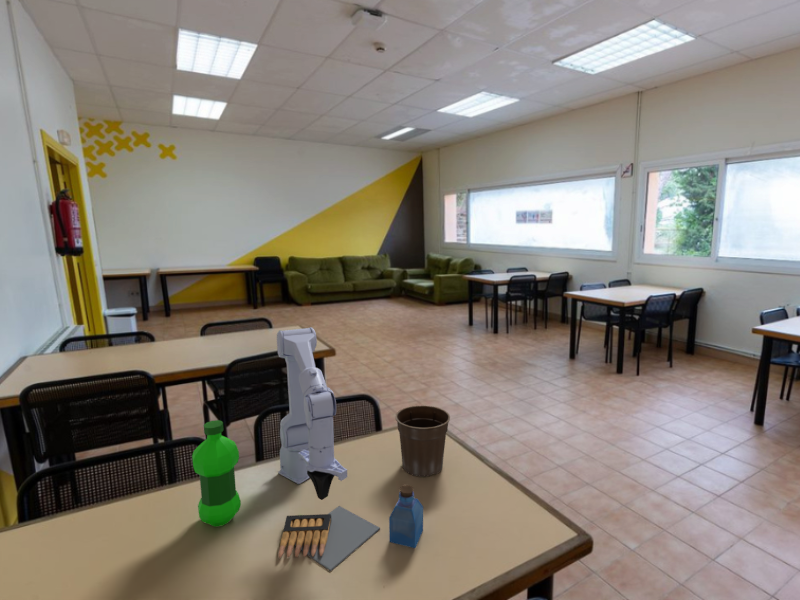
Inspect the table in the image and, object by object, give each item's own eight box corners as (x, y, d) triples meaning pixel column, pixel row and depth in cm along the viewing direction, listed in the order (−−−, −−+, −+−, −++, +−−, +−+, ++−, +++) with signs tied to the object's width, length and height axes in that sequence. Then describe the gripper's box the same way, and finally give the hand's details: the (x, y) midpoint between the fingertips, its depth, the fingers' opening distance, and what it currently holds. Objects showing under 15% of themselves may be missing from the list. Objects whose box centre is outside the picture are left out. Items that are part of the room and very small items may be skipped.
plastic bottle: (250, 518, 106) (244, 423, 102) (207, 540, 98) (199, 438, 94) (231, 501, 113) (225, 411, 109) (190, 520, 105) (181, 425, 101)
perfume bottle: (423, 530, 102) (423, 483, 100) (415, 548, 96) (415, 499, 94) (398, 524, 104) (398, 479, 102) (389, 542, 98) (389, 494, 96)
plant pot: (399, 450, 138) (399, 403, 136) (449, 454, 136) (450, 406, 133) (391, 479, 122) (391, 426, 120) (448, 483, 120) (449, 429, 118)
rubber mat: (289, 543, 97) (288, 541, 97) (339, 507, 110) (339, 505, 110) (330, 571, 89) (330, 569, 89) (379, 529, 102) (379, 527, 102)
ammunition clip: (331, 513, 104) (324, 552, 92) (331, 520, 104) (325, 559, 92) (286, 515, 103) (274, 554, 91) (287, 522, 104) (275, 561, 92)
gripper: (286, 440, 100) (289, 493, 102) (330, 460, 91) (332, 518, 93) (310, 429, 105) (312, 480, 107) (353, 447, 96) (354, 502, 99)
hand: (323, 496), depth 101 cm, fingers closed
